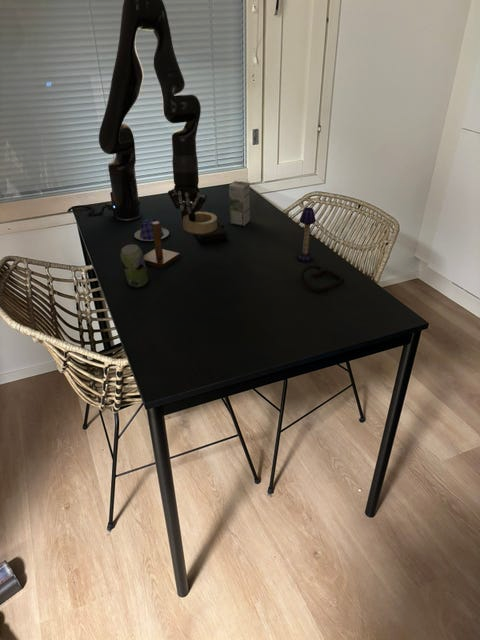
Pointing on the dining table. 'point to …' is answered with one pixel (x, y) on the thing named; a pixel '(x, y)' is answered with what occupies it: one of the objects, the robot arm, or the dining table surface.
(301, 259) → the purple spotted mushroom
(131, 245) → the beverage can
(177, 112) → the robot arm
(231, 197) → the syrup box
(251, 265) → the dining table surface
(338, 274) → the metal loop
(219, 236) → the carrying case
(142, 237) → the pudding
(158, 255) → the peg stand
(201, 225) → the tape roll
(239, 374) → the dining table surface
